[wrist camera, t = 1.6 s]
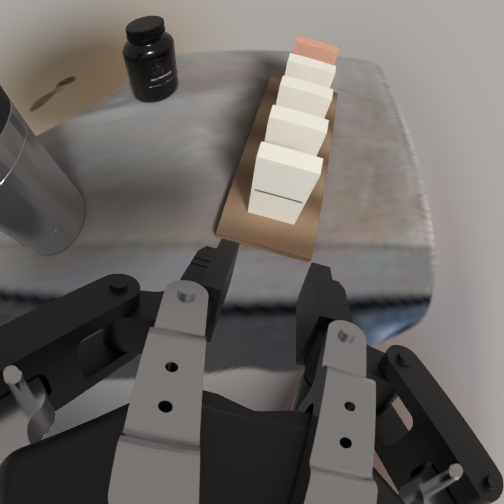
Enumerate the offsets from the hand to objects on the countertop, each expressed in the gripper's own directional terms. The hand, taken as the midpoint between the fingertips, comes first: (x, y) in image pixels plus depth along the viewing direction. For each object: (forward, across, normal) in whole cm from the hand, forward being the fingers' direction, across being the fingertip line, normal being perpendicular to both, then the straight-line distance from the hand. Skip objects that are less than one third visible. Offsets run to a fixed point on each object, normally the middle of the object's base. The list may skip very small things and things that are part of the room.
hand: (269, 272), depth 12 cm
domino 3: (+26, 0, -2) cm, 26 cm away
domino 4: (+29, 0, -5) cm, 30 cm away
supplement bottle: (+32, +21, -6) cm, 38 cm away
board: (+27, 0, -1) cm, 27 cm away
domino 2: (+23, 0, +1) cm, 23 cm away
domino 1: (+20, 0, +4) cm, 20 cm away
